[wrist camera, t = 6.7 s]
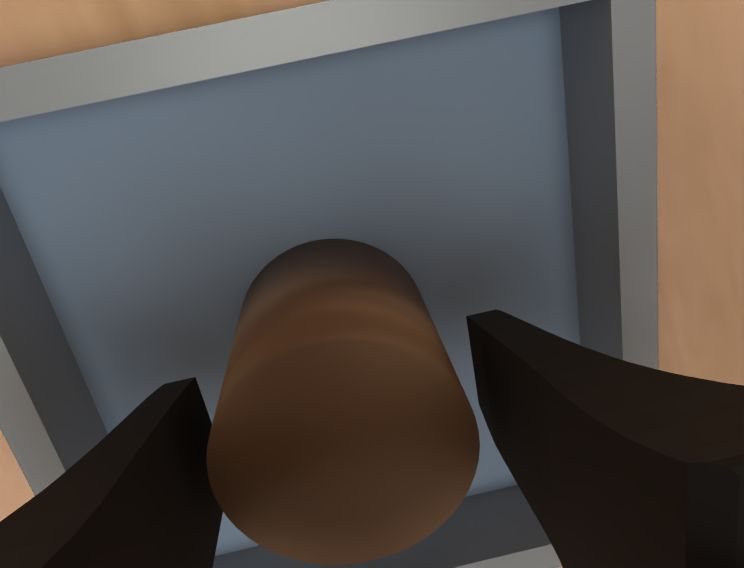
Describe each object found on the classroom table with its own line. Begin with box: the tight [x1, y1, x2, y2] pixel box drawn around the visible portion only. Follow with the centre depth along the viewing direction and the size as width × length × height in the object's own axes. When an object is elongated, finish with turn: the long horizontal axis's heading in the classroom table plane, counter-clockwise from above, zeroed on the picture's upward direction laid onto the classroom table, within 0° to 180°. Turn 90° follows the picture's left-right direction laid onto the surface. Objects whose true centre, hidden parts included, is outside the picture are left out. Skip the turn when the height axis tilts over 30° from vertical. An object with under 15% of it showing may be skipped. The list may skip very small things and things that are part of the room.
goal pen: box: [0, 0, 658, 568], centre depth 13 cm, size 14×14×2 cm
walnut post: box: [206, 239, 480, 565], centre depth 12 cm, size 4×4×5 cm
